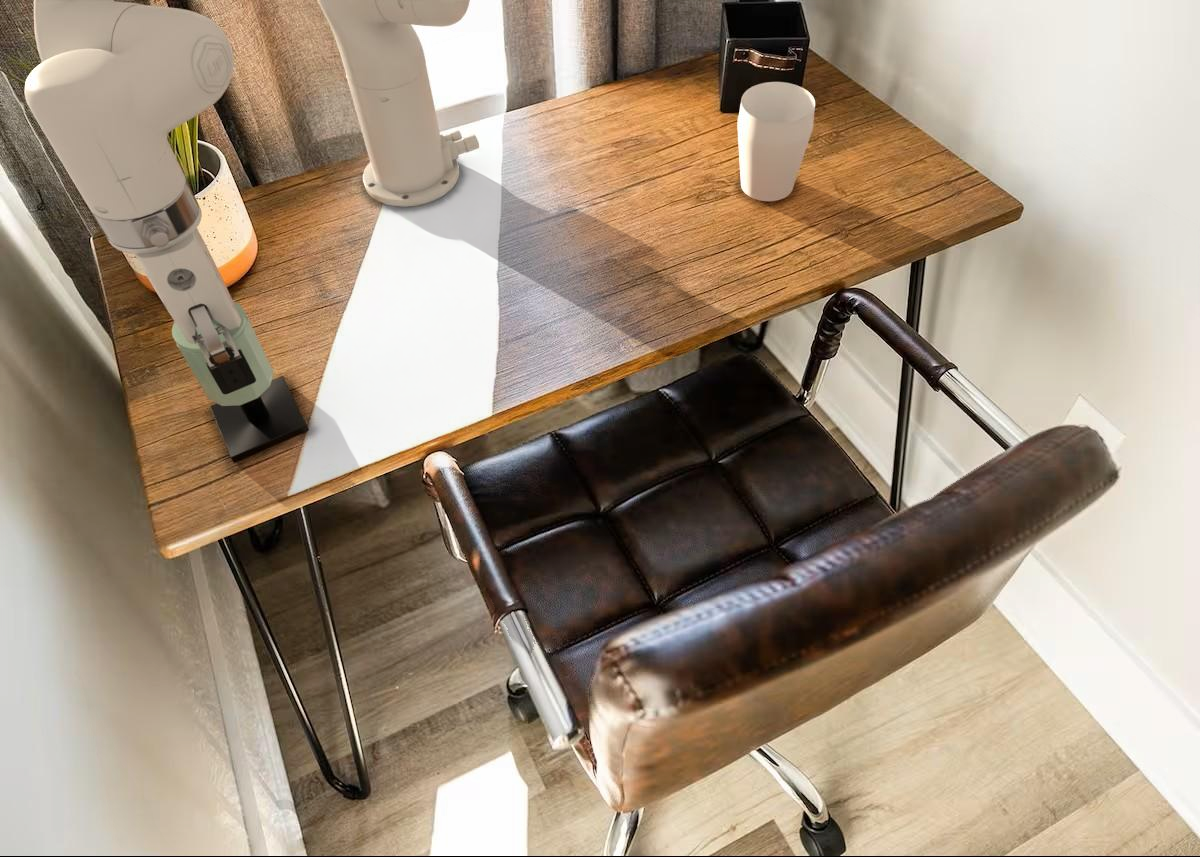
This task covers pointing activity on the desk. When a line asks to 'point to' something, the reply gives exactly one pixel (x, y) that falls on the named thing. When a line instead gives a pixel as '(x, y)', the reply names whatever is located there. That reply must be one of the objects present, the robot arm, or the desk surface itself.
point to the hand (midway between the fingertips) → (225, 354)
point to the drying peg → (260, 421)
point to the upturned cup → (242, 339)
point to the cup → (773, 138)
